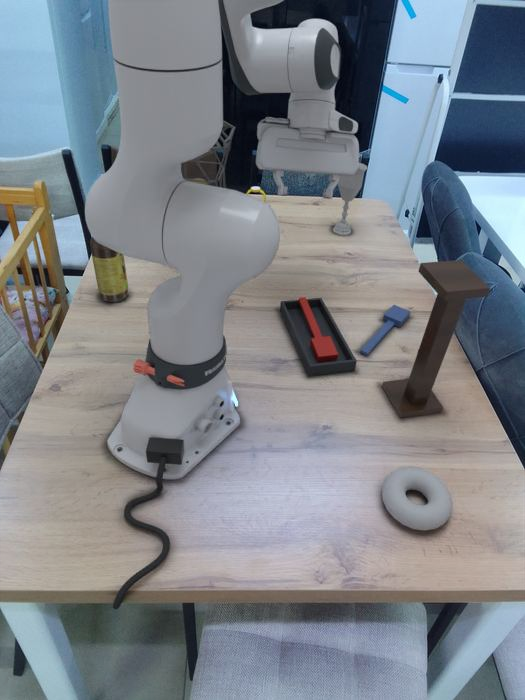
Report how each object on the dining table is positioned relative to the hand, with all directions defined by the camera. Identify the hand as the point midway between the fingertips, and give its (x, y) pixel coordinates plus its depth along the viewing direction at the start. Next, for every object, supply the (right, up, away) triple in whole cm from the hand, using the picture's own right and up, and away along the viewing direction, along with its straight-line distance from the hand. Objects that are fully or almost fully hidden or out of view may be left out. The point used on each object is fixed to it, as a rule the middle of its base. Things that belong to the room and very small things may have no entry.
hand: (305, 197), depth 100 cm
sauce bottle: (-41, -18, +11) cm, 46 cm away
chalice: (+14, +3, +41) cm, 43 cm away
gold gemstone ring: (-11, +12, +49) cm, 52 cm away
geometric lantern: (-24, -8, +25) cm, 36 cm away
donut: (+14, -53, -25) cm, 60 cm away
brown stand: (+18, -39, -9) cm, 44 cm away
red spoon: (+2, -27, +2) cm, 27 cm away
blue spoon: (+17, -26, +6) cm, 32 cm away
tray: (+2, -28, +3) cm, 28 cm away
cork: (-26, +6, +41) cm, 49 cm away
